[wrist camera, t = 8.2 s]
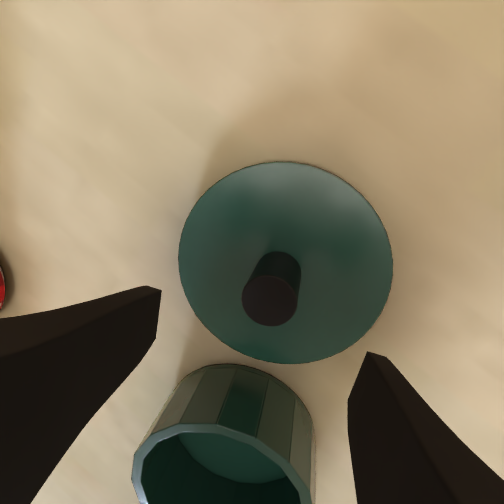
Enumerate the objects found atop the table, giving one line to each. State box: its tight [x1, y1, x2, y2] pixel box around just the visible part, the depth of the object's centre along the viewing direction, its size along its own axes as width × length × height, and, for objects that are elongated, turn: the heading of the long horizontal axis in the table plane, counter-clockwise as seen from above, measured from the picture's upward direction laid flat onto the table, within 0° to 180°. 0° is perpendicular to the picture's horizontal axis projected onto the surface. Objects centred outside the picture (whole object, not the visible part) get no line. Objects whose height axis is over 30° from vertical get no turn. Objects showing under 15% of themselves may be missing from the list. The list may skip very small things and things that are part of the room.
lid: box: [178, 161, 393, 364], centre depth 15 cm, size 11×11×4 cm
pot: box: [131, 364, 316, 504], centre depth 19 cm, size 10×10×5 cm
